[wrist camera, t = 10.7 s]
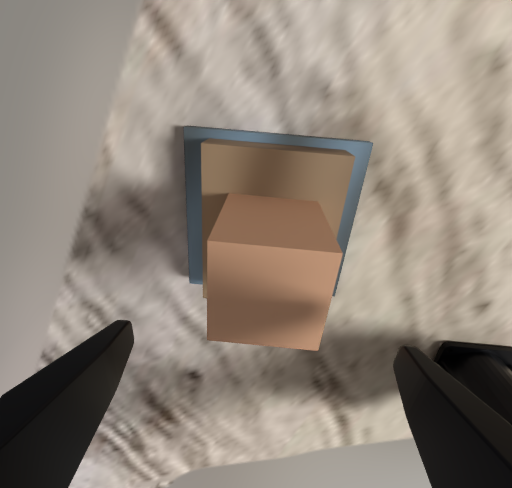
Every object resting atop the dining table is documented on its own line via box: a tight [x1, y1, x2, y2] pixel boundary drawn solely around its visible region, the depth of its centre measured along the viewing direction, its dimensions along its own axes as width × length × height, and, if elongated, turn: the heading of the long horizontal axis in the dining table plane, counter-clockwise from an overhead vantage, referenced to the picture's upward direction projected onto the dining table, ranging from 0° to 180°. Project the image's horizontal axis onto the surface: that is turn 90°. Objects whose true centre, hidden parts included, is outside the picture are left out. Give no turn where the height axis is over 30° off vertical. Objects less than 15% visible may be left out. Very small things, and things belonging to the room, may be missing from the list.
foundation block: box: [184, 126, 373, 298], centre depth 18 cm, size 11×11×3 cm
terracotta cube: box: [207, 193, 343, 351], centre depth 14 cm, size 5×5×6 cm
